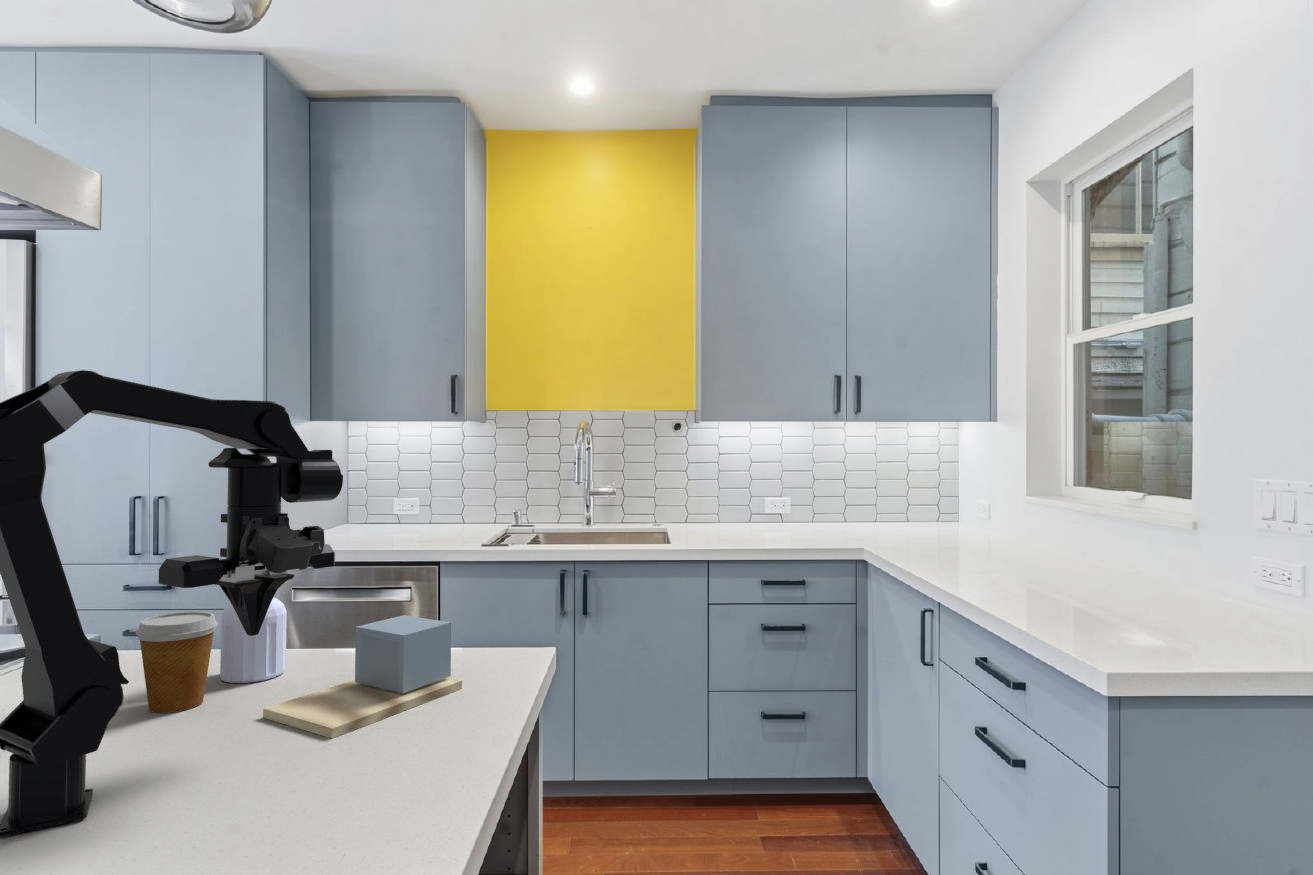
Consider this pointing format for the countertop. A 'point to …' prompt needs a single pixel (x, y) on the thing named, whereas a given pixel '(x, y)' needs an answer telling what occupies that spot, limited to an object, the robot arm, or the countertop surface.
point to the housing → (402, 653)
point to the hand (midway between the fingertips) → (252, 634)
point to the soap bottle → (253, 646)
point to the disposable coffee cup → (176, 659)
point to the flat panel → (352, 706)
